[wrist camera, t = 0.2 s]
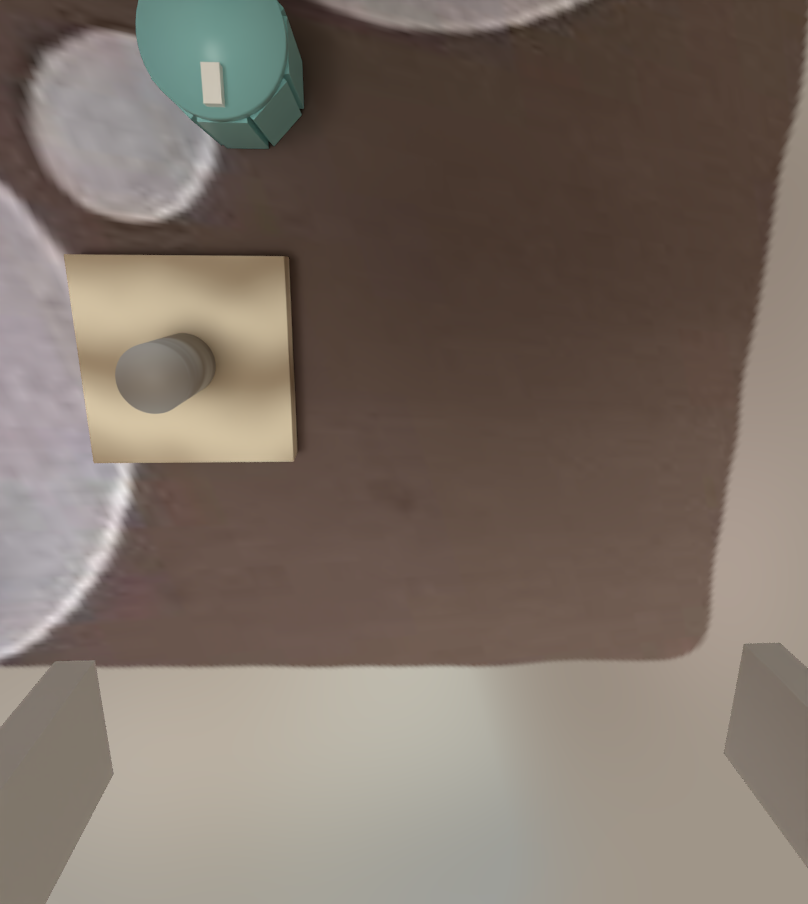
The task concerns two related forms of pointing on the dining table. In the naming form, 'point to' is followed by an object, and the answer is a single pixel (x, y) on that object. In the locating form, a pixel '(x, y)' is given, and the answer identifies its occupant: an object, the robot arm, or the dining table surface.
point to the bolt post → (185, 357)
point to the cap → (225, 66)
